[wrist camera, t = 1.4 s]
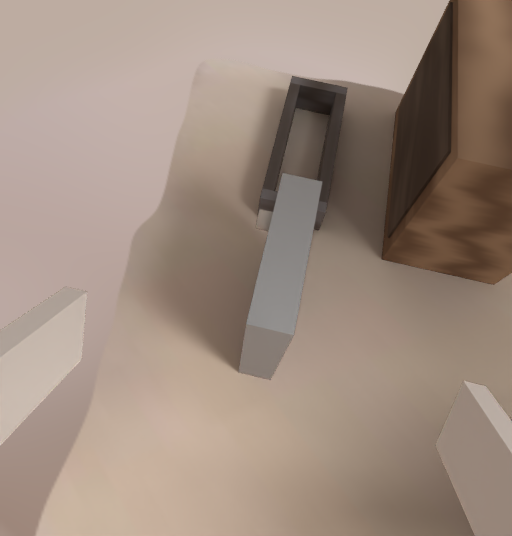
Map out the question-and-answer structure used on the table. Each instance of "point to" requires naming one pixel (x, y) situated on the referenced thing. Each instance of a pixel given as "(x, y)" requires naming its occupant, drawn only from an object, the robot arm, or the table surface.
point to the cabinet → (437, 148)
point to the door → (280, 275)
